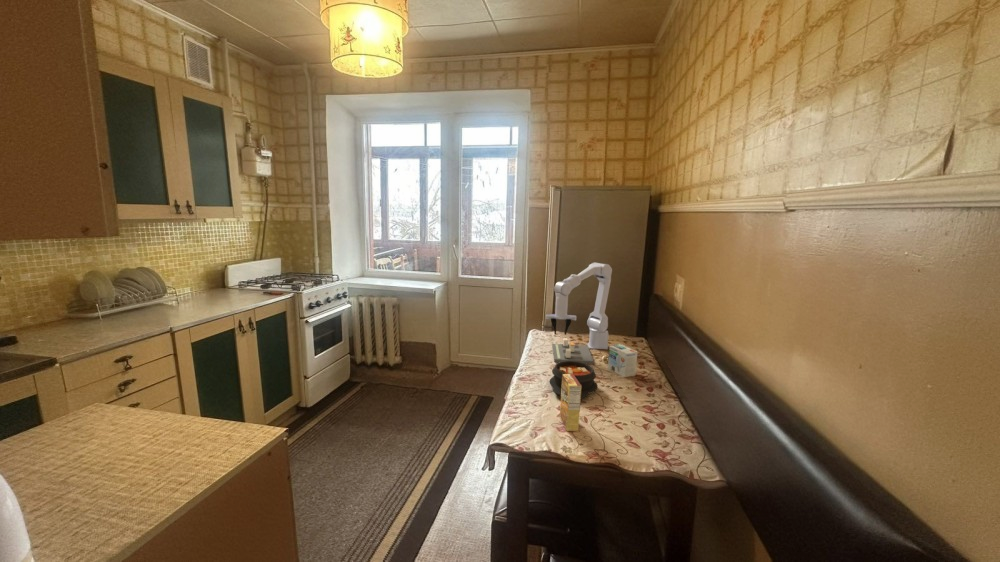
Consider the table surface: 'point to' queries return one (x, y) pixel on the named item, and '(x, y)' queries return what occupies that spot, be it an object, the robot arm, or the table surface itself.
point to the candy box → (570, 402)
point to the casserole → (581, 373)
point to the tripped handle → (572, 347)
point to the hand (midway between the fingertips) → (560, 333)
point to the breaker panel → (571, 353)
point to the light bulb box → (622, 360)
